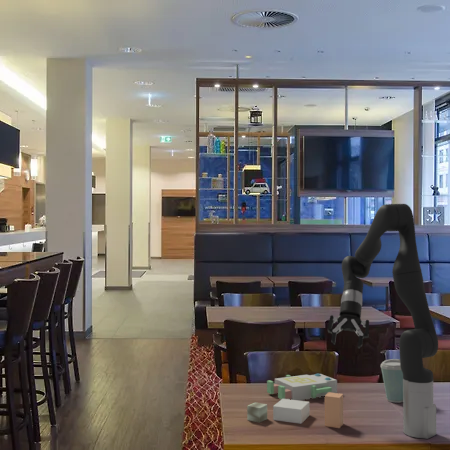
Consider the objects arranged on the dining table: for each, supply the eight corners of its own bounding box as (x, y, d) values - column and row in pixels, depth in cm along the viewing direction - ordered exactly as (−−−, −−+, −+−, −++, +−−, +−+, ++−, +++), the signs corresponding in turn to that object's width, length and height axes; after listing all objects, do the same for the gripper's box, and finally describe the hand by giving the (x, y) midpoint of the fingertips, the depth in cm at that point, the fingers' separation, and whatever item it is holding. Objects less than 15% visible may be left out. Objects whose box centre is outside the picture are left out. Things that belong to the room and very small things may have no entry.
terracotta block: (343, 423, 195) (343, 393, 195) (339, 428, 190) (339, 397, 190) (328, 421, 197) (328, 392, 197) (324, 426, 192) (324, 395, 192)
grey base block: (309, 415, 204) (309, 401, 204) (301, 424, 195) (301, 409, 195) (282, 412, 208) (282, 398, 208) (273, 420, 199) (273, 406, 199)
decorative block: (314, 369, 246) (343, 380, 228) (314, 385, 246) (343, 397, 227) (261, 376, 235) (287, 388, 217) (261, 392, 234) (287, 405, 216)
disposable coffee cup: (399, 406, 214) (399, 365, 214) (375, 400, 222) (374, 361, 222) (415, 400, 221) (414, 361, 221) (390, 395, 229) (390, 357, 229)
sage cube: (267, 419, 200) (267, 404, 200) (259, 422, 196) (259, 408, 196) (255, 416, 203) (255, 402, 203) (247, 420, 199) (247, 405, 199)
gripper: (331, 297, 209) (325, 338, 200) (371, 302, 205) (367, 343, 196) (331, 307, 215) (326, 347, 206) (371, 312, 211) (367, 353, 202)
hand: (346, 345), depth 201 cm, fingers open, 8 cm apart
